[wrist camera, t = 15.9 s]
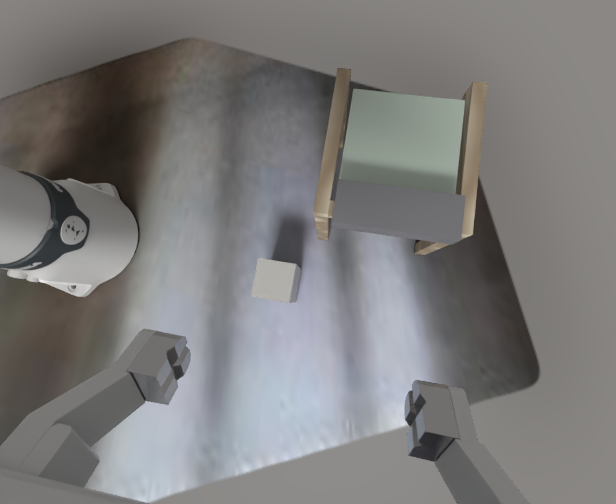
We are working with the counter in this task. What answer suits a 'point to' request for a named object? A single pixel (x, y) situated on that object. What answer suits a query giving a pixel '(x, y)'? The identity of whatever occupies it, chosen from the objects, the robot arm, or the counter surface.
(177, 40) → the counter surface
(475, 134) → the frame
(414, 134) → the trapdoor
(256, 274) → the stone
